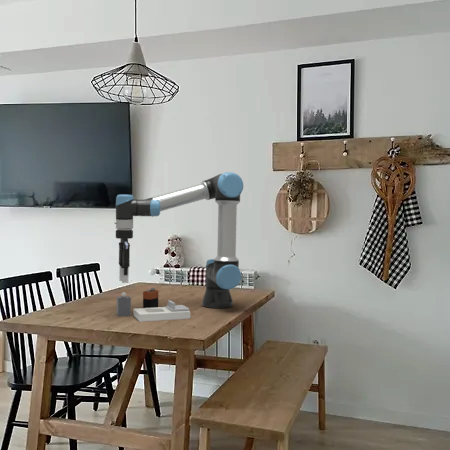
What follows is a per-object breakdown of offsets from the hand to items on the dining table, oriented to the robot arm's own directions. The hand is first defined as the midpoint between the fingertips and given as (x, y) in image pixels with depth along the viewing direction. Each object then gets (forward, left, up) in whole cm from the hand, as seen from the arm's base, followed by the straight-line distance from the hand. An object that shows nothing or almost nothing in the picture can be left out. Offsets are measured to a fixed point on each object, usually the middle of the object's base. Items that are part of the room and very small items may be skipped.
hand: (123, 281), depth 229 cm
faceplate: (-15, +9, -15) cm, 23 cm away
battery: (-14, -8, -15) cm, 22 cm away
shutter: (-22, +9, -12) cm, 27 cm away
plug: (0, 0, -15) cm, 15 cm away
